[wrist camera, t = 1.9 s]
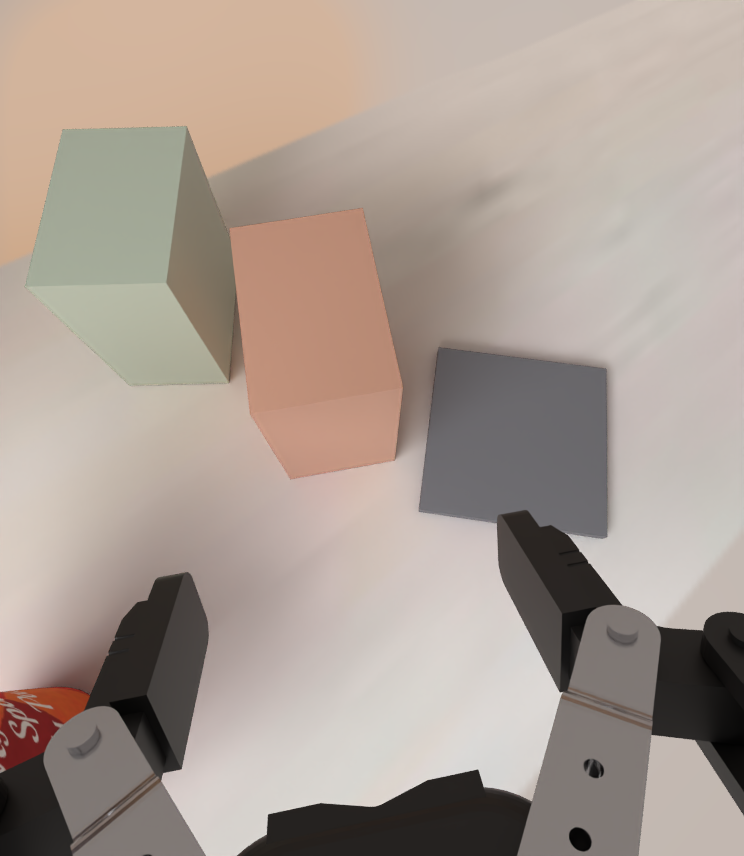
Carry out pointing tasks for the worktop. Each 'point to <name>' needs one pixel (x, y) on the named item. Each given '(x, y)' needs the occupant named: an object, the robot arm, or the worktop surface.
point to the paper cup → (34, 720)
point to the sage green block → (138, 255)
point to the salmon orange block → (317, 342)
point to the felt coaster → (517, 441)
